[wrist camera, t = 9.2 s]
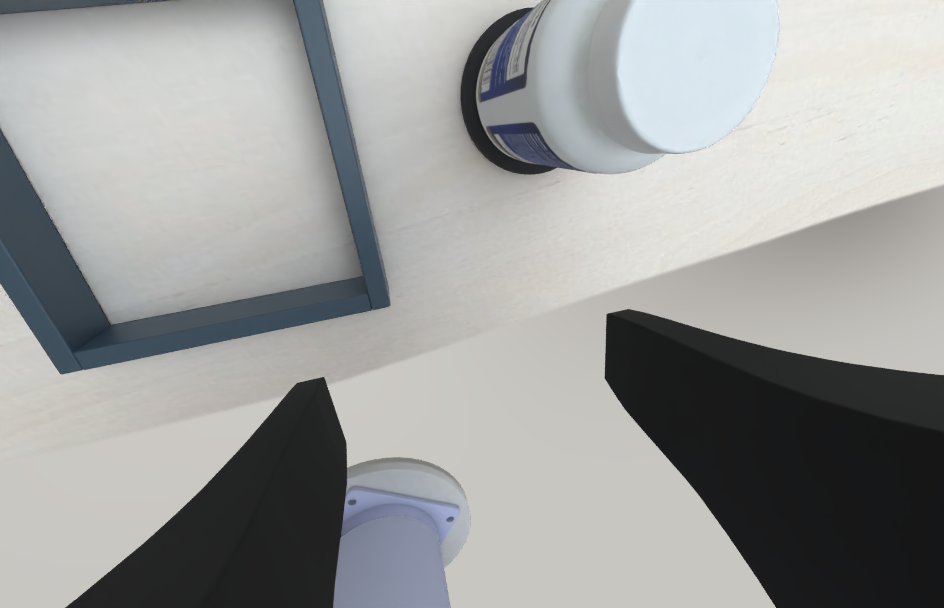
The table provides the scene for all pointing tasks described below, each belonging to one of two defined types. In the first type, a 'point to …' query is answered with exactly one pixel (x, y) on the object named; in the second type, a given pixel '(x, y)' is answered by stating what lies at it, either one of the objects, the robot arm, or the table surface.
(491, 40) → the coaster
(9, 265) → the square picture frame
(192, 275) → the table surface
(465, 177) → the table surface
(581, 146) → the pill bottle
